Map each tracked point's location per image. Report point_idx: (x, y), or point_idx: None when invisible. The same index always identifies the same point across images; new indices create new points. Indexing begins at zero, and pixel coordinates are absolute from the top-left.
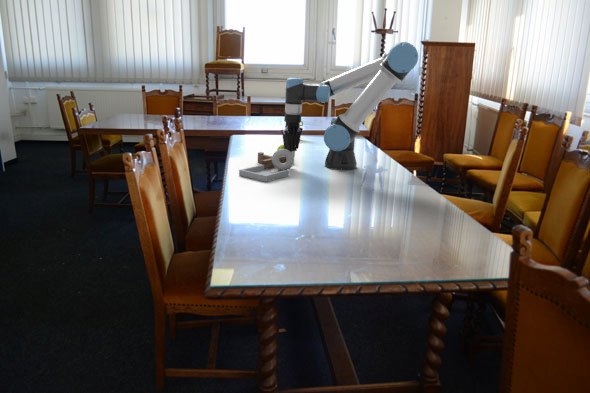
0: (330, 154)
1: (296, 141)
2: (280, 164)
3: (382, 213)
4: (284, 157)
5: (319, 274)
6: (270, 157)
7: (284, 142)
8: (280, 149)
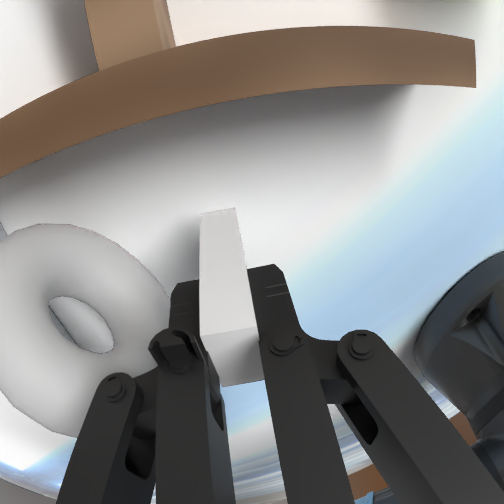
0: (475, 372)
1: (387, 467)
2: (65, 295)
3: (155, 500)
4: (289, 88)
5: (23, 486)
6: (89, 11)
7: (72, 497)
8: (19, 410)
